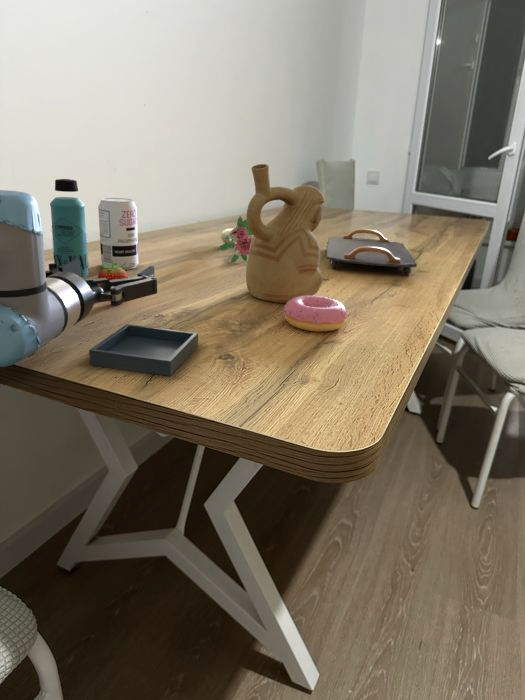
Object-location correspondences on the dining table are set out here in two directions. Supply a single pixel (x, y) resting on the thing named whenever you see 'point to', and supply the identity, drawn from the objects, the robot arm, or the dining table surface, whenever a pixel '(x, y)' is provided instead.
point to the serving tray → (368, 251)
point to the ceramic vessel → (283, 241)
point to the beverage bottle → (69, 227)
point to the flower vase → (237, 239)
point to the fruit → (112, 273)
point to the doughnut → (315, 313)
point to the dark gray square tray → (144, 349)
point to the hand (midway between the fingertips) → (115, 270)
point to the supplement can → (118, 232)
